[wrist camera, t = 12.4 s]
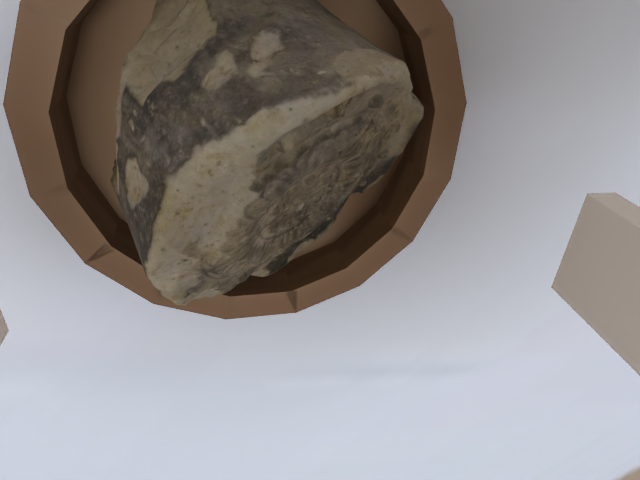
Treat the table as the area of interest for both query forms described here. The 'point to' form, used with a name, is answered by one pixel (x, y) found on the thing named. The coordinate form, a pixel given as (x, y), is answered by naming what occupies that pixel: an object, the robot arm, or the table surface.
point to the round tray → (101, 127)
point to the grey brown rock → (249, 136)
